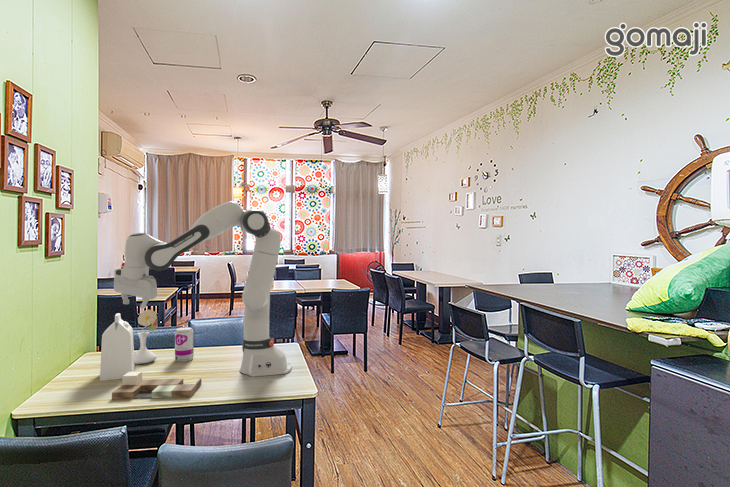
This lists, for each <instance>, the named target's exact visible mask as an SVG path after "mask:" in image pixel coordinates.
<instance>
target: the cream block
mask: <svg viewBox="0 0 730 487" xmlns="http://www.w3.org/2000/svg"><path fill="white" fill-rule="evenodd" d="M142 380H143V371H134V372H128V373H126V374H125V375H124V376H123V378H122V384H123V385H137V384H138V383H139V382H141V381H142Z"/></svg>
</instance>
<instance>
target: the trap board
mask: <svg viewBox="0 0 730 487" xmlns="http://www.w3.org/2000/svg"><path fill="white" fill-rule="evenodd" d="M201 386H202V378H201V377H200V378H199V379H198V380H197V381H196V382H195V383H184V378H157V379H156V378H155V379H154V378H153V379H151V378H150V379H149V378H148V379H142V381H141V382H139V383H138V384H137V385H123V383H122V384H121V385H120V386H119V387H117V388H116V389H114V391H112V392H111V400H131V399H137V398H141V399H169V398H192V397H193V395H194V394H195V393H196V392H197V391H198V389H199V388H201Z"/></svg>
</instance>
